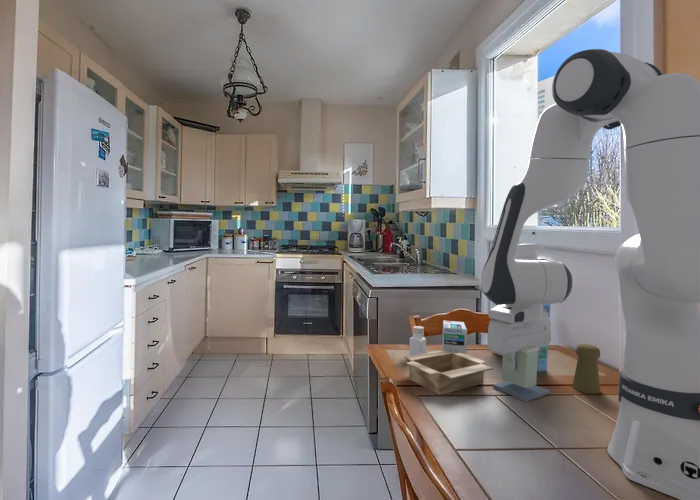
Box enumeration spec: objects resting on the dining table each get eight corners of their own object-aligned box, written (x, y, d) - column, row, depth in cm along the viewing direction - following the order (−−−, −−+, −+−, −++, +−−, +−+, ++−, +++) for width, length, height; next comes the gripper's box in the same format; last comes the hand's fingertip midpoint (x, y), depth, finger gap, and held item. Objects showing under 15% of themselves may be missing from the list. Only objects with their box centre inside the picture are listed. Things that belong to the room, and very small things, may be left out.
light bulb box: (466, 366, 113) (468, 329, 113) (442, 364, 114) (443, 327, 114) (463, 355, 124) (464, 321, 123) (441, 353, 125) (442, 319, 124)
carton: (498, 386, 99) (499, 366, 98) (442, 401, 89) (443, 379, 89) (448, 365, 113) (449, 348, 113) (396, 376, 103) (396, 358, 103)
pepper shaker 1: (414, 355, 122) (415, 325, 122) (426, 358, 120) (427, 327, 120) (408, 358, 119) (409, 327, 119) (420, 361, 117) (421, 329, 116)
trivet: (549, 393, 95) (549, 390, 94) (525, 401, 90) (525, 397, 90) (516, 381, 102) (516, 378, 102) (493, 387, 98) (493, 384, 98)
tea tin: (536, 384, 94) (538, 347, 94) (525, 388, 92) (527, 349, 92) (512, 375, 100) (514, 340, 100) (500, 378, 98) (502, 342, 97)
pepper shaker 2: (602, 388, 98) (605, 345, 98) (597, 395, 94) (599, 350, 94) (575, 382, 103) (577, 340, 102) (569, 388, 98) (571, 344, 98)
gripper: (536, 305, 103) (533, 357, 104) (483, 311, 92) (481, 369, 93) (559, 309, 98) (556, 364, 99) (507, 316, 87) (504, 378, 88)
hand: (519, 367), depth 96 cm, fingers closed on tea tin, 4 cm apart
